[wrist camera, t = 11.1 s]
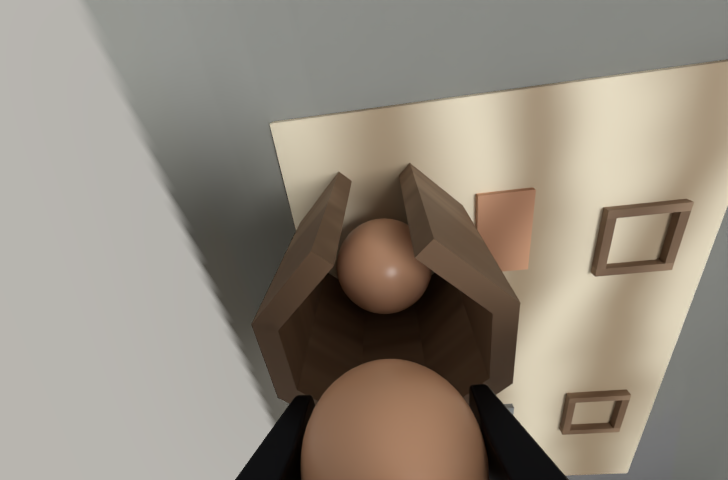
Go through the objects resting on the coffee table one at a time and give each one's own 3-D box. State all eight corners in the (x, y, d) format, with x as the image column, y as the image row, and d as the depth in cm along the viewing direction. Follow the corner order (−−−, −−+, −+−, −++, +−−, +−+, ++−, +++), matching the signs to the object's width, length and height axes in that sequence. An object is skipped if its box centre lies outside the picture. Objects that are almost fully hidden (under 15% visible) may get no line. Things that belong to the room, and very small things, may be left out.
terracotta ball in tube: (423, 199, 15) (437, 241, 12) (427, 274, 17) (440, 330, 14) (334, 209, 16) (322, 252, 12) (348, 282, 17) (340, 338, 14)
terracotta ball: (465, 423, 10) (511, 620, 7) (331, 430, 10) (305, 619, 7) (465, 317, 8) (529, 509, 5) (303, 329, 9) (249, 515, 5)
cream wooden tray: (767, 53, 13) (1202, 46, 6) (621, 464, 25) (714, 616, 18) (273, 121, 15) (183, 173, 8) (358, 474, 26) (352, 616, 20)
